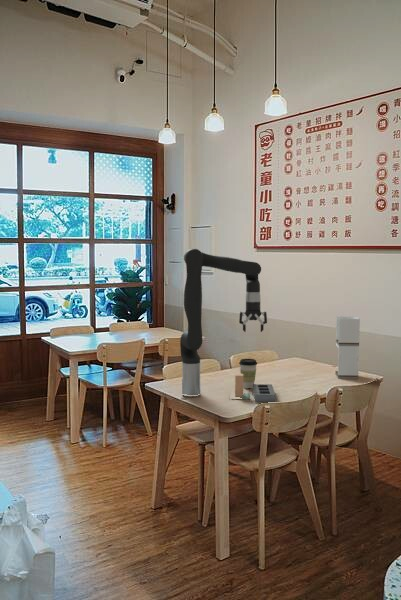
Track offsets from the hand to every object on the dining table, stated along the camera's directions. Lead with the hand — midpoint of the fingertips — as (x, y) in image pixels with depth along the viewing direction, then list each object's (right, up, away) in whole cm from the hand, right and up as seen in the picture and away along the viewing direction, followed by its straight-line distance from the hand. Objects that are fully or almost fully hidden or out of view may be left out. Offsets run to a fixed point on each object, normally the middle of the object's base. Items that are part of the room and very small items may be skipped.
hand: (253, 331), depth 278 cm
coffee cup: (-1, -31, +13) cm, 34 cm away
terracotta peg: (-8, -32, -5) cm, 34 cm away
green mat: (-8, -33, -5) cm, 34 cm away
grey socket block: (+5, -33, -6) cm, 34 cm away
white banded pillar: (+58, -29, +36) cm, 74 cm away
